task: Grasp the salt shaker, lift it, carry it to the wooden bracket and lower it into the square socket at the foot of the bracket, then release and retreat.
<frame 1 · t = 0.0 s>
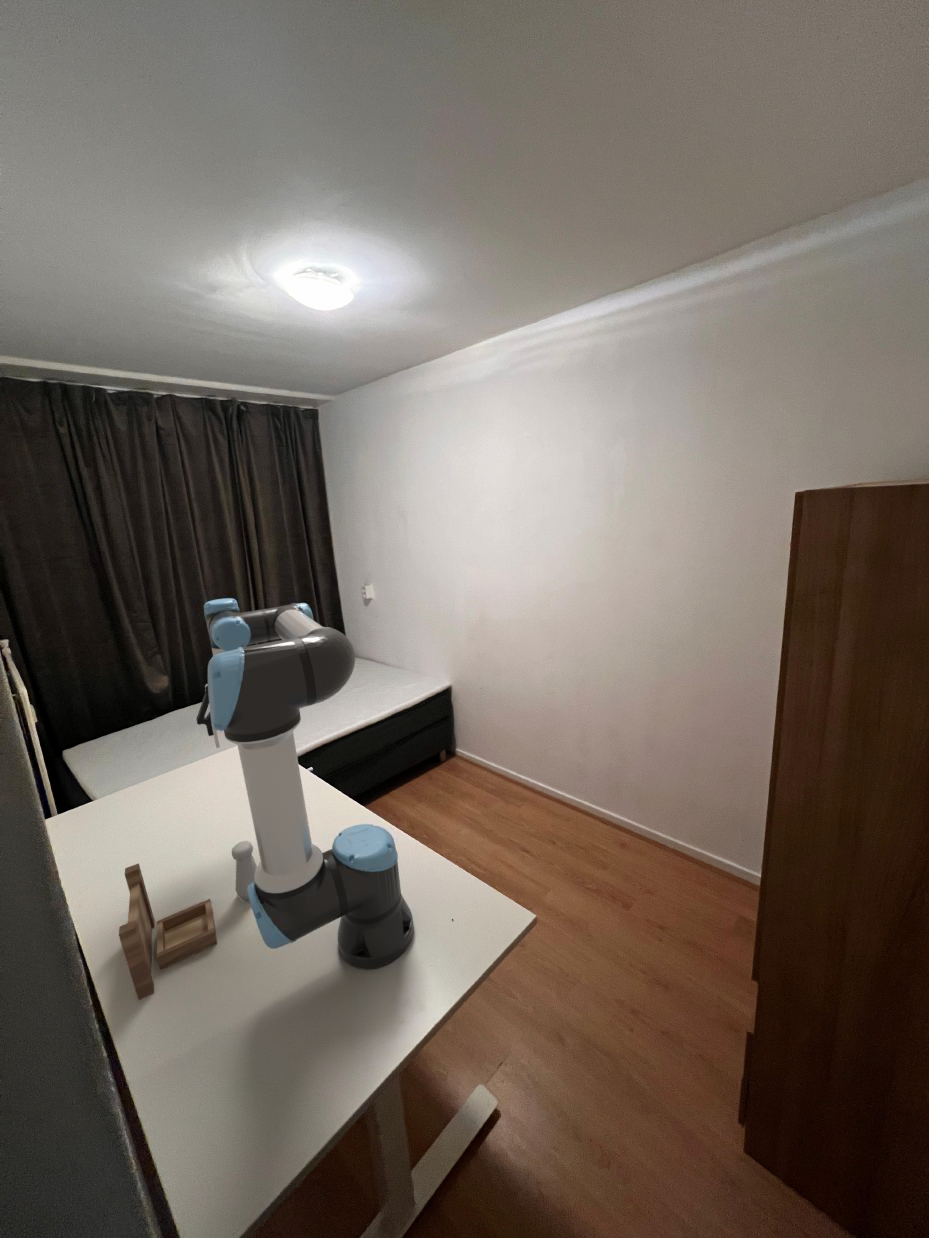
hand: (246, 737, 125), 28 cm above the table, fingers open, 13 cm apart
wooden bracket: (188, 938, 100), on the table
salt shaker: (251, 894, 111), on the table
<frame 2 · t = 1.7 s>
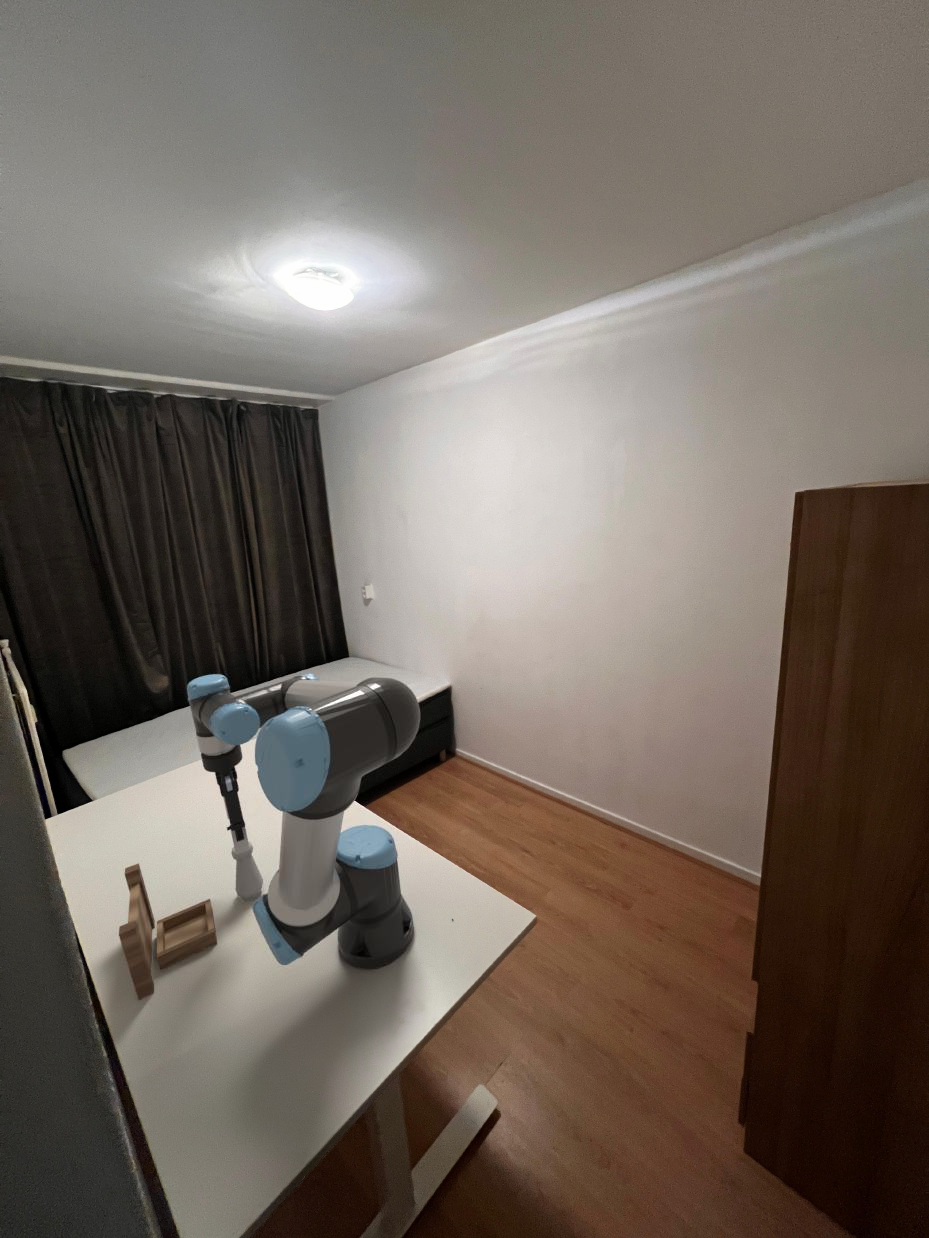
hand: (238, 832, 107), 16 cm above the table, fingers open, 13 cm apart
nothing on the table moved.
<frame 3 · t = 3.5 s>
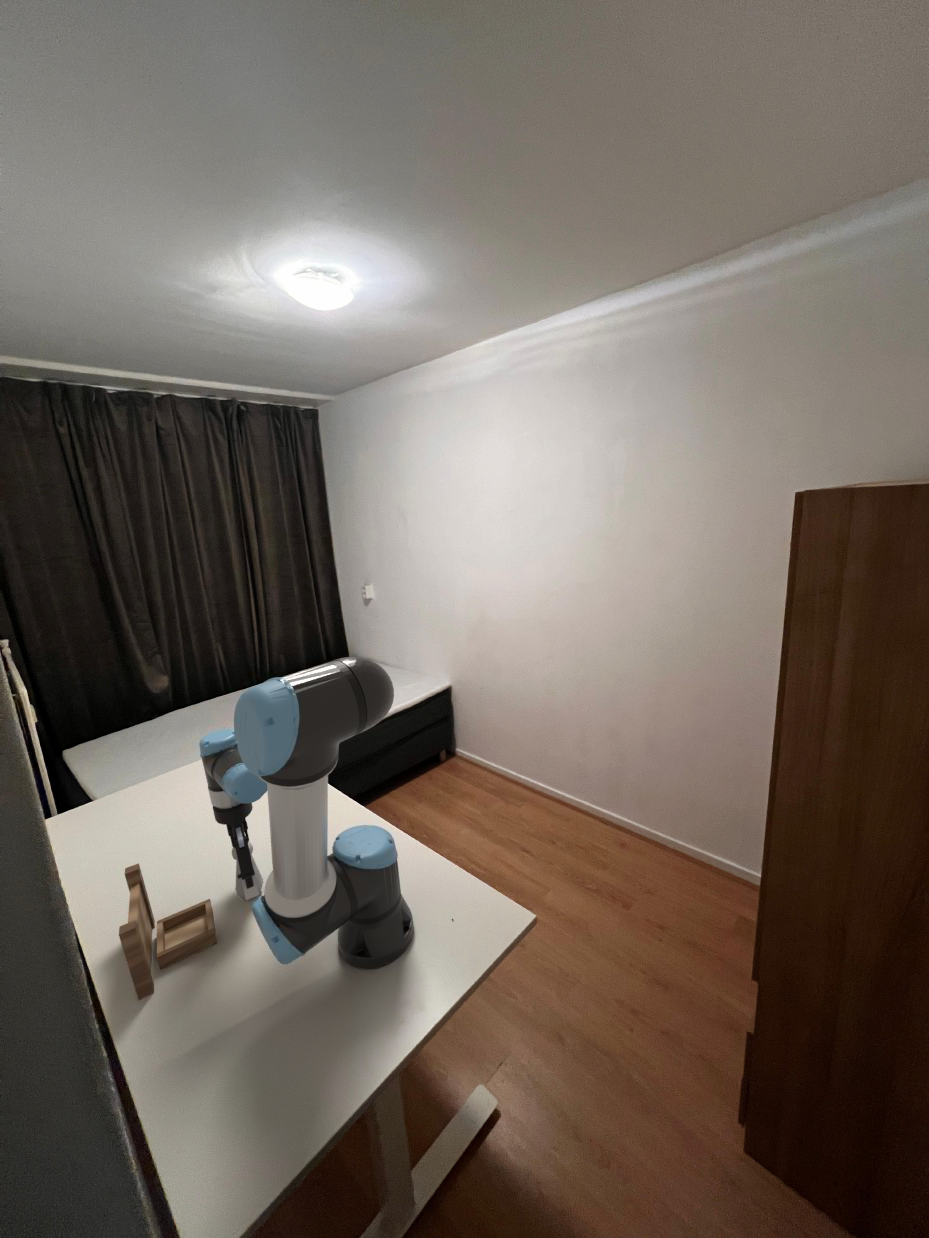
hand: (249, 886, 110), 2 cm above the table, fingers closed on salt shaker, 6 cm apart
salt shaker: (251, 894, 111), on the table, touching gripper
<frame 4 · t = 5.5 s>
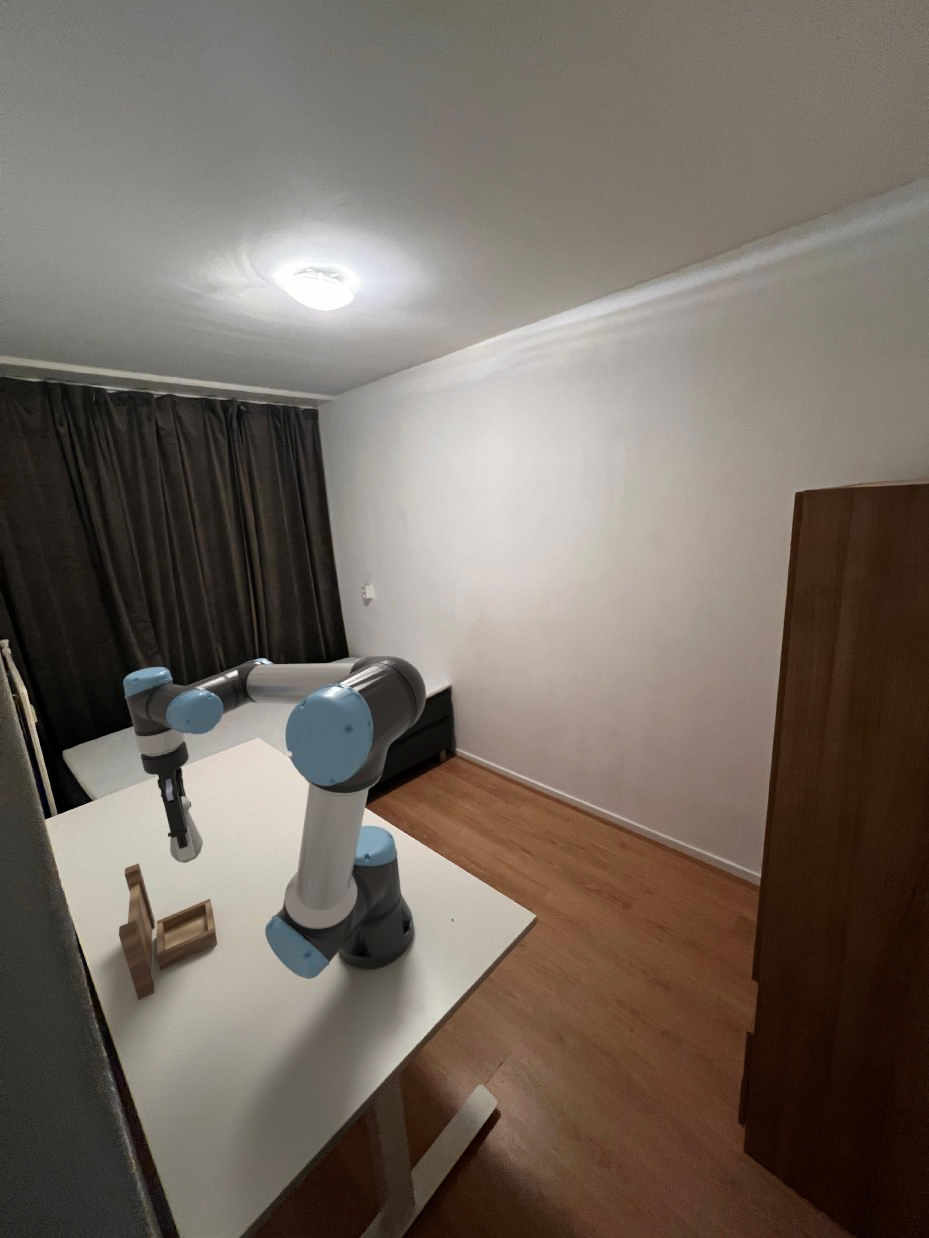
hand: (187, 848, 98), 19 cm above the table, fingers closed on salt shaker, 6 cm apart
salt shaker: (189, 856, 99), point 17 cm above the table, touching gripper
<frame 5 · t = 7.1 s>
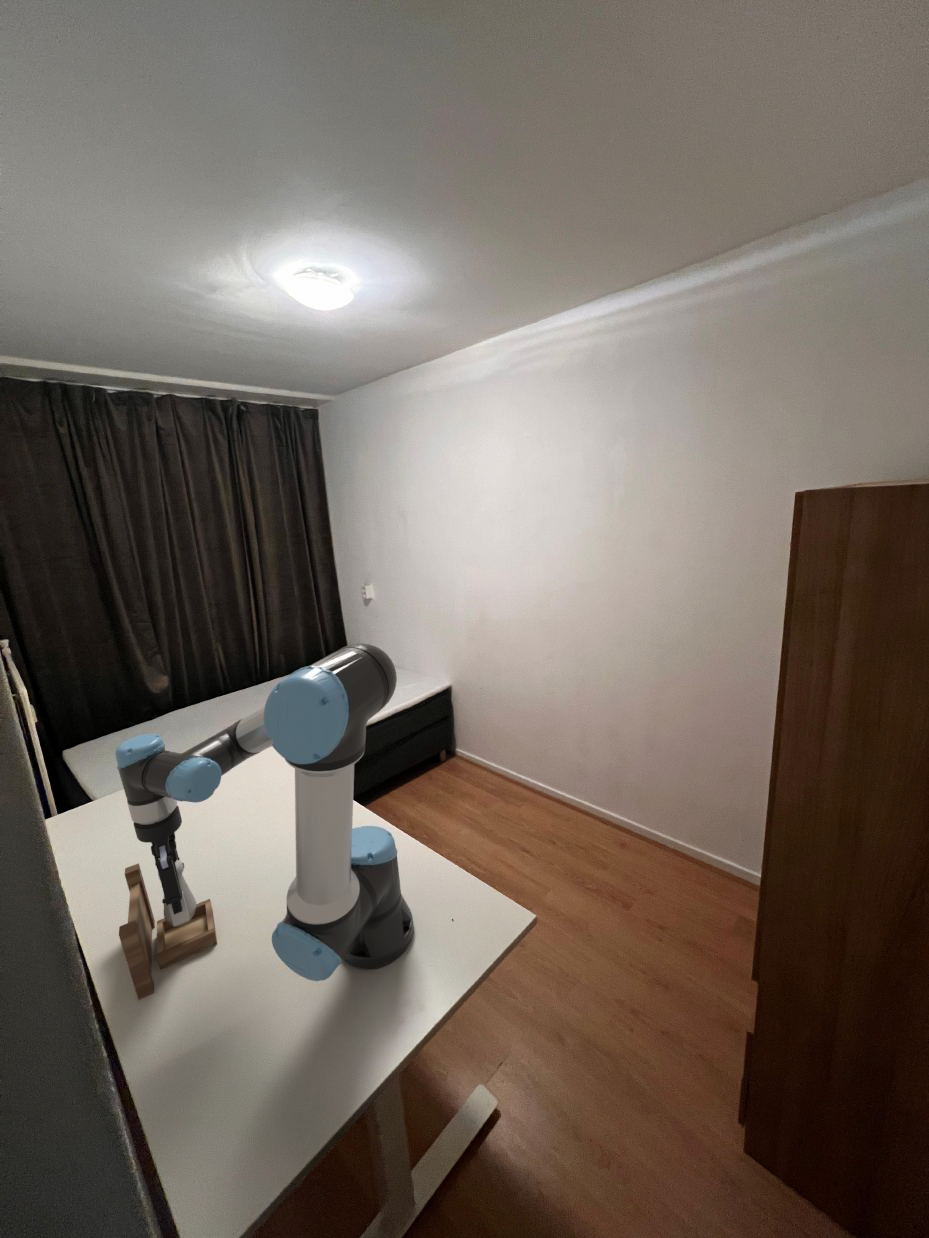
hand: (180, 910, 98), 7 cm above the table, fingers closed on salt shaker, 6 cm apart
salt shaker: (182, 918, 99), point 5 cm above the table, touching gripper
when the fingers open (4 cm above the table, at t = 7.9 s): salt shaker drops 1 cm, resting on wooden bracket.
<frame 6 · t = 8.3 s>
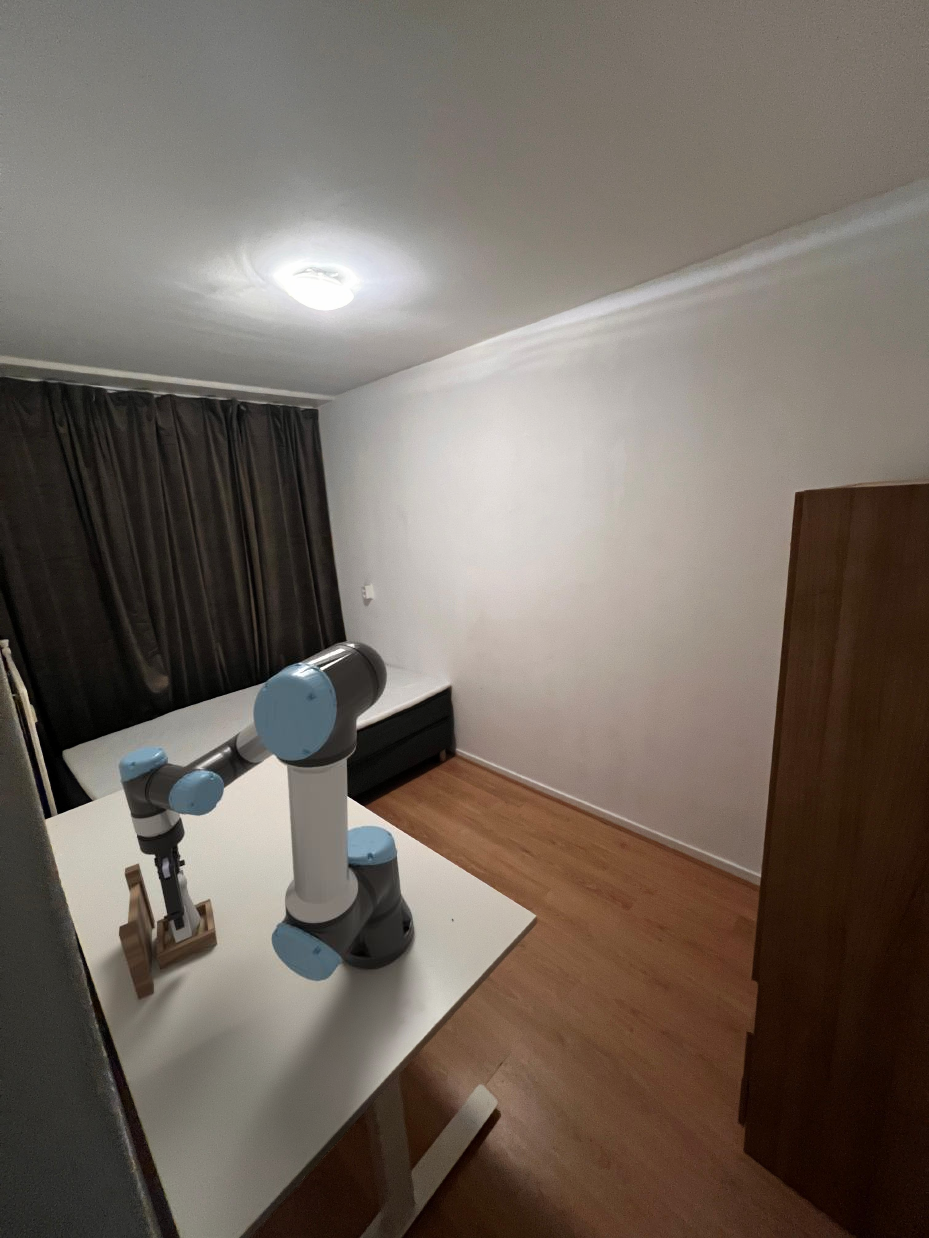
hand: (182, 916, 99), 6 cm above the table, fingers open, 11 cm apart
salt shaker: (187, 935, 100), point 1 cm above the table, touching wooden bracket
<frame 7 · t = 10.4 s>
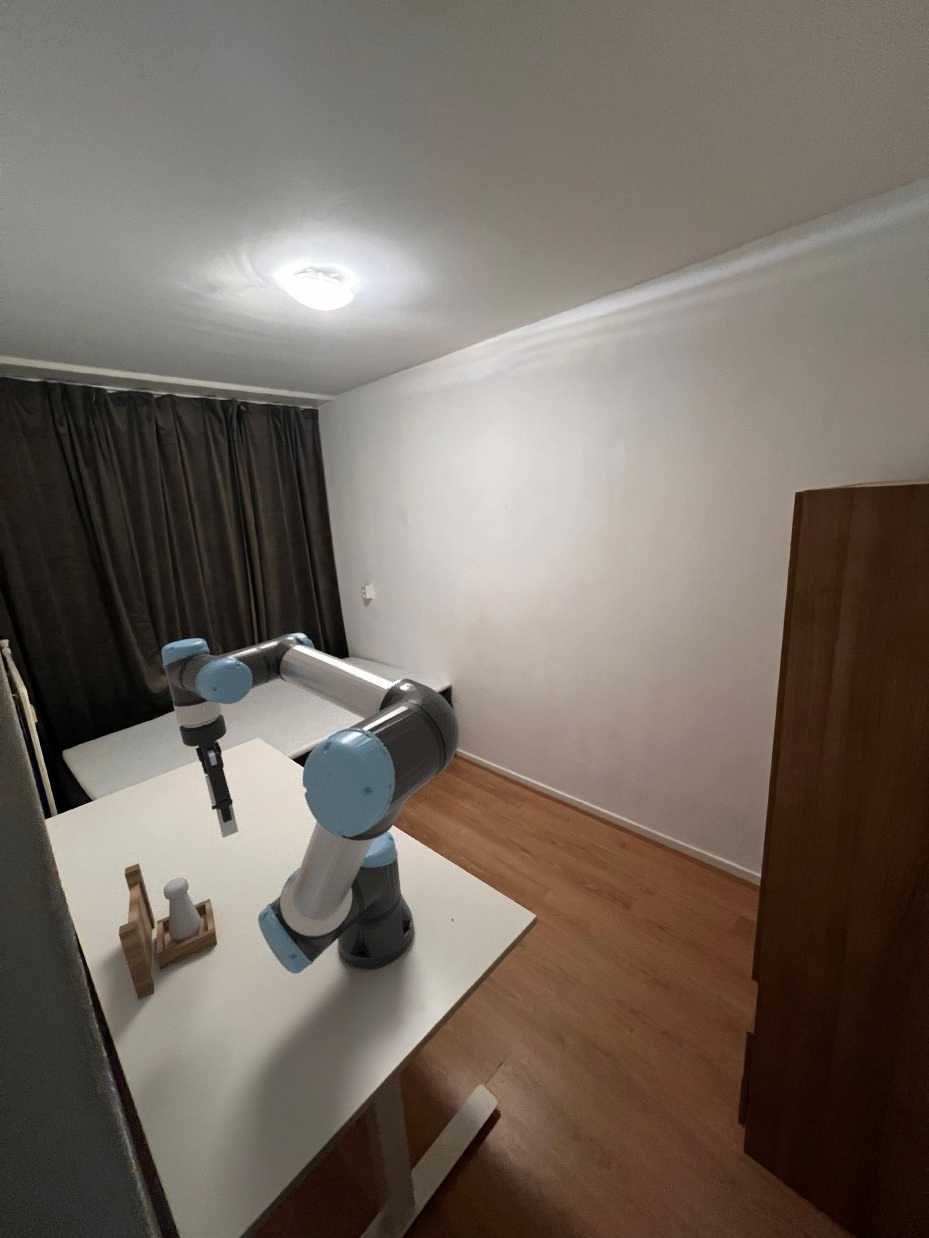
hand: (224, 817, 97), 26 cm above the table, fingers open, 13 cm apart
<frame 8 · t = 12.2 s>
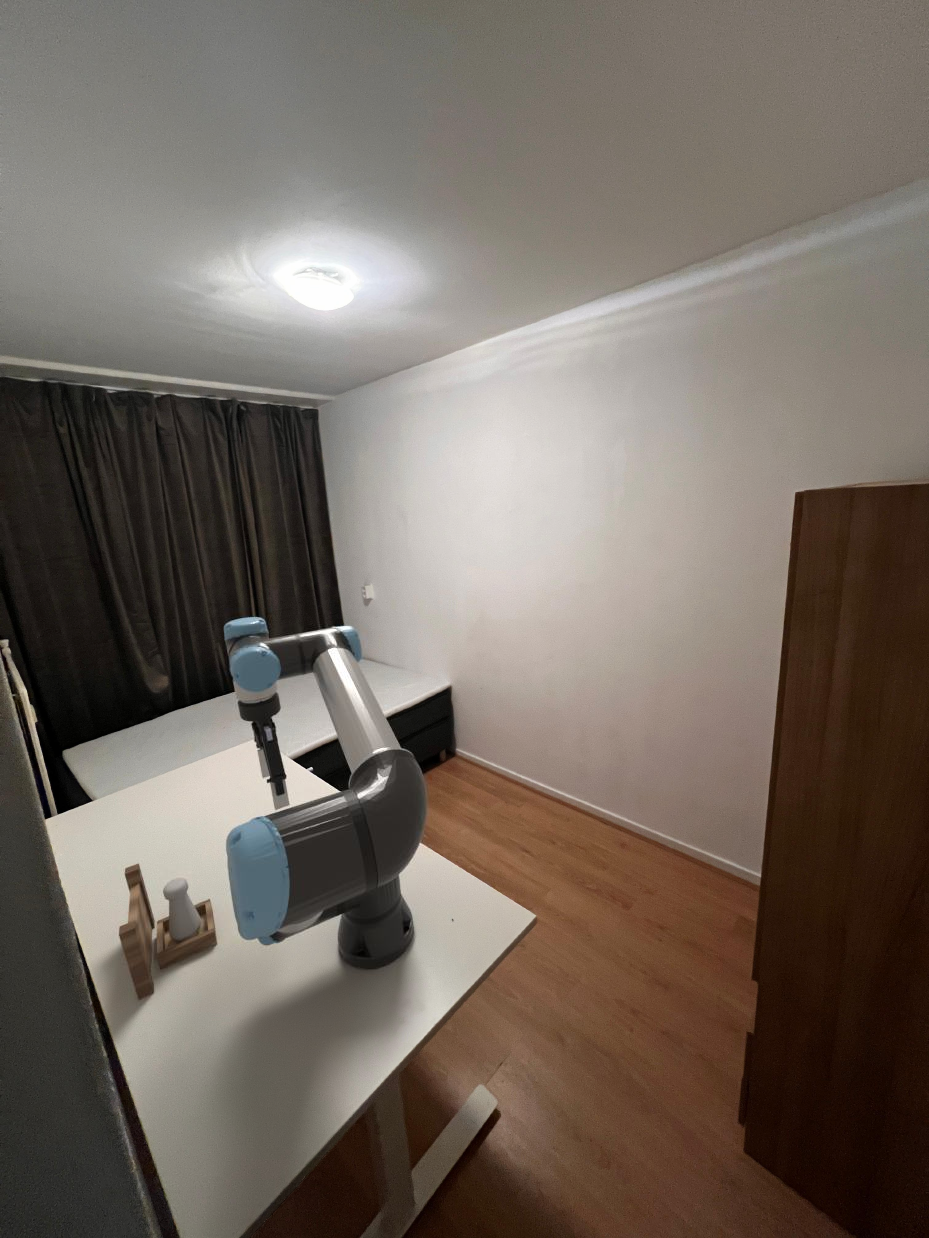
hand: (275, 790, 100), 29 cm above the table, fingers open, 13 cm apart
nothing on the table moved.
at the end: salt shaker 0.0 cm off-centre on the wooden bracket, point 0.6 cm above the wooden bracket's base; salt shaker tilted 0°; the gripper is holding nothing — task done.
